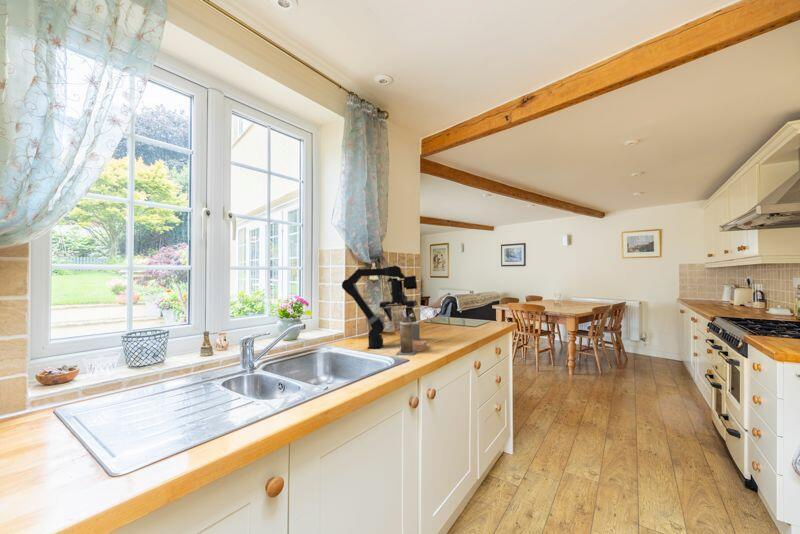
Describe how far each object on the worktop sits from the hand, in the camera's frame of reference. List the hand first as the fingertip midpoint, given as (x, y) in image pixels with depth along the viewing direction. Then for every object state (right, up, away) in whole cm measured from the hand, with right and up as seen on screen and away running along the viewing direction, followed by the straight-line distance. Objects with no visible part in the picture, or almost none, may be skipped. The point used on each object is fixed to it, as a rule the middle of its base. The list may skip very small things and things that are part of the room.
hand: (399, 320), depth 171 cm
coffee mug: (+7, -13, +13) cm, 20 cm away
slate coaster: (+4, -13, -14) cm, 19 cm away
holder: (+8, -13, -5) cm, 16 cm away
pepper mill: (+3, -12, -14) cm, 19 cm away
